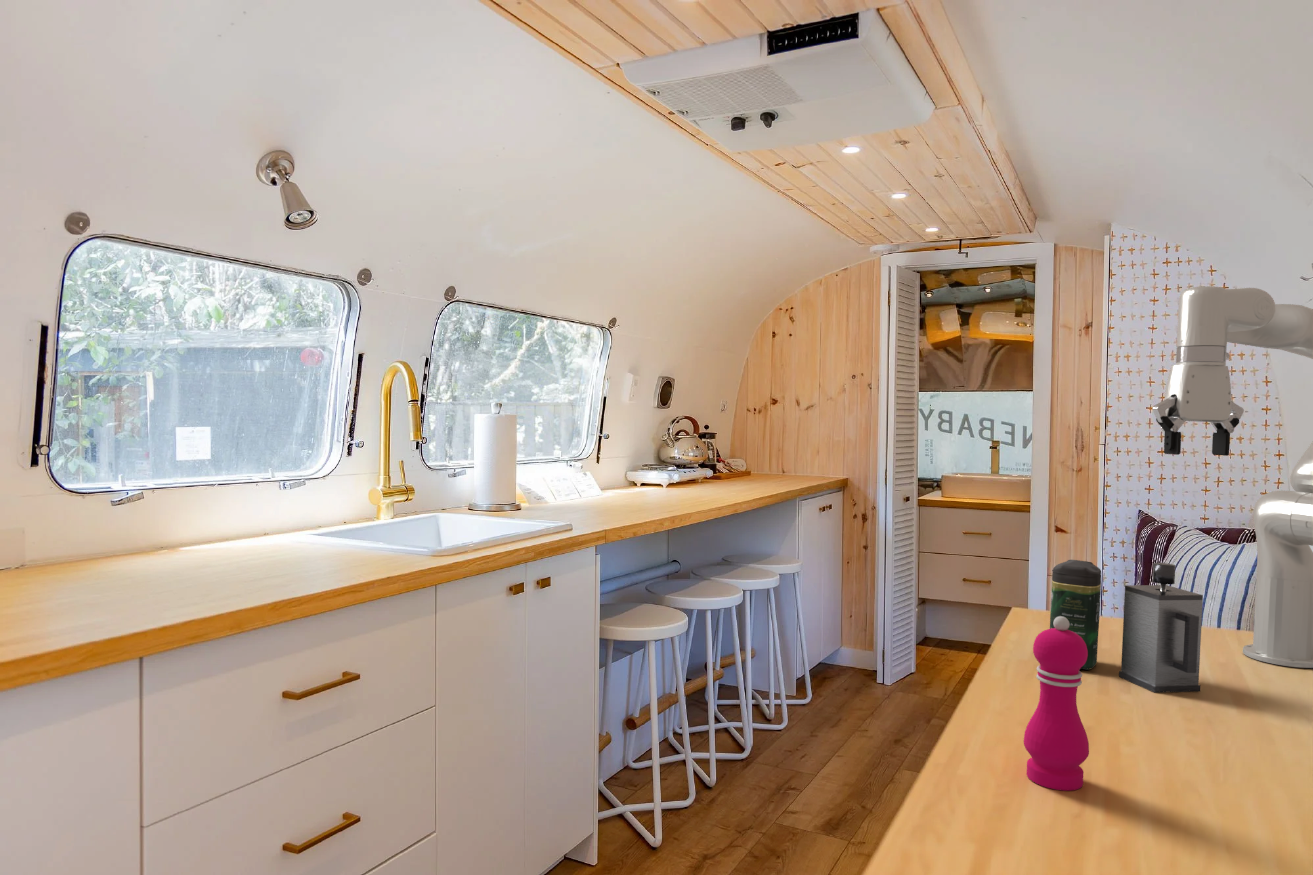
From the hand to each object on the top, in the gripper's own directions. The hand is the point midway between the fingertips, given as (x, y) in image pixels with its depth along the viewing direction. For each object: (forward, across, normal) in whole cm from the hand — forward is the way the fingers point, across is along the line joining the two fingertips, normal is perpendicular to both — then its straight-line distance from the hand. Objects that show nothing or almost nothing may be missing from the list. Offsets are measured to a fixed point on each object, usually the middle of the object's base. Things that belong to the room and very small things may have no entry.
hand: (1196, 454), depth 156 cm
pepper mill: (+38, +54, +42) cm, 78 cm away
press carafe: (+38, +12, +9) cm, 41 cm away
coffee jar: (+38, +20, -4) cm, 43 cm away
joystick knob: (+32, +12, +8) cm, 35 cm away
